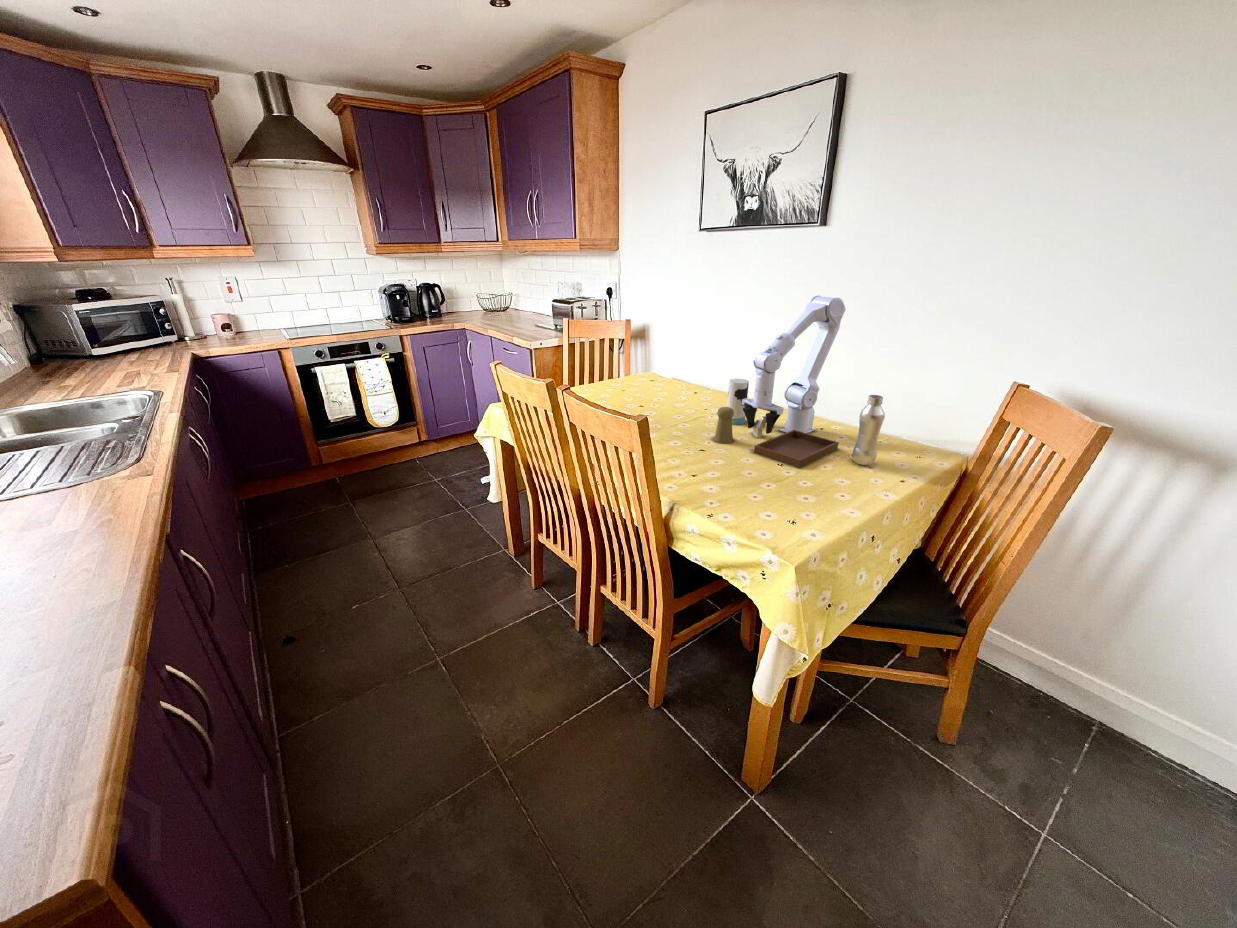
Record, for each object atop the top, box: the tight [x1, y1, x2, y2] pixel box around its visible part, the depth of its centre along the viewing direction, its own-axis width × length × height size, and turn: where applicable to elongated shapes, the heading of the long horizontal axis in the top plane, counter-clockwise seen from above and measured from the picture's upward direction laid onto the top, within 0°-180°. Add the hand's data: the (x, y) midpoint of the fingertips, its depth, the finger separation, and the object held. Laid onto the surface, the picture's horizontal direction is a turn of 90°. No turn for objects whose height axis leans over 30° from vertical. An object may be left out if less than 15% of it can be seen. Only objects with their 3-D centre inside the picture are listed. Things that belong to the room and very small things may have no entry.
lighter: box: [752, 415, 767, 439], centre depth 164 cm, size 7×2×8 cm, turn 5°
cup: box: [726, 378, 750, 426], centre depth 178 cm, size 7×7×15 cm
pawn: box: [713, 406, 734, 444], centre depth 162 cm, size 6×6×11 cm
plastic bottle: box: [851, 394, 886, 466], centre depth 141 cm, size 6×7×20 cm
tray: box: [753, 430, 839, 469], centre depth 154 cm, size 22×16×2 cm
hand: (759, 430), depth 165 cm, fingers closed on lighter, 6 cm apart
